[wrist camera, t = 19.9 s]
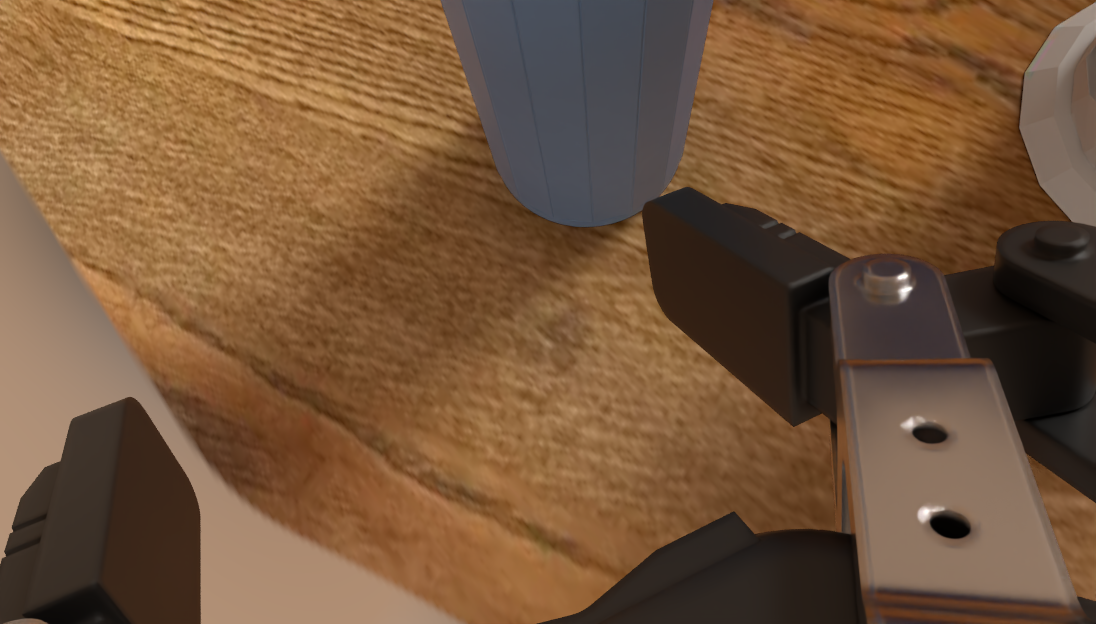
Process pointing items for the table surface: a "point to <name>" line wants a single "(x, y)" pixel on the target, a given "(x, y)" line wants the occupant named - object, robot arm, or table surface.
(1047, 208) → the table surface
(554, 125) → the blue bottle
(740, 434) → the table surface
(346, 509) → the table surface
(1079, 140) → the french press
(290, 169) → the table surface
